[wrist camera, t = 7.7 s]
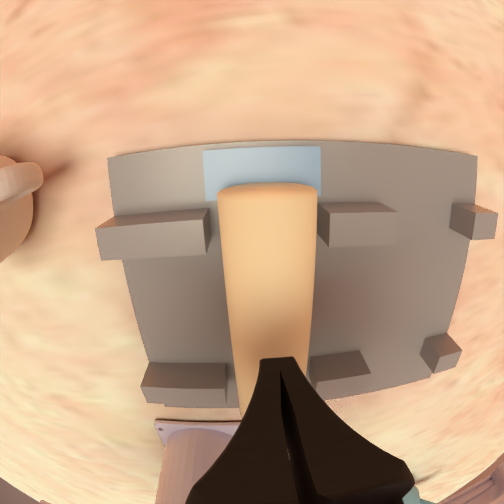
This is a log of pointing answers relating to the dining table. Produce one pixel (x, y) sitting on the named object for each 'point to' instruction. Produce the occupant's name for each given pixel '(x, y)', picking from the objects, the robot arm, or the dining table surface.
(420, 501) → the teapot
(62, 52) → the dining table surface
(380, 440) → the dining table surface
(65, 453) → the dining table surface
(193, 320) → the board
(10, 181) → the cup
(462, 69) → the dining table surface
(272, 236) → the tan tapered cylinder
